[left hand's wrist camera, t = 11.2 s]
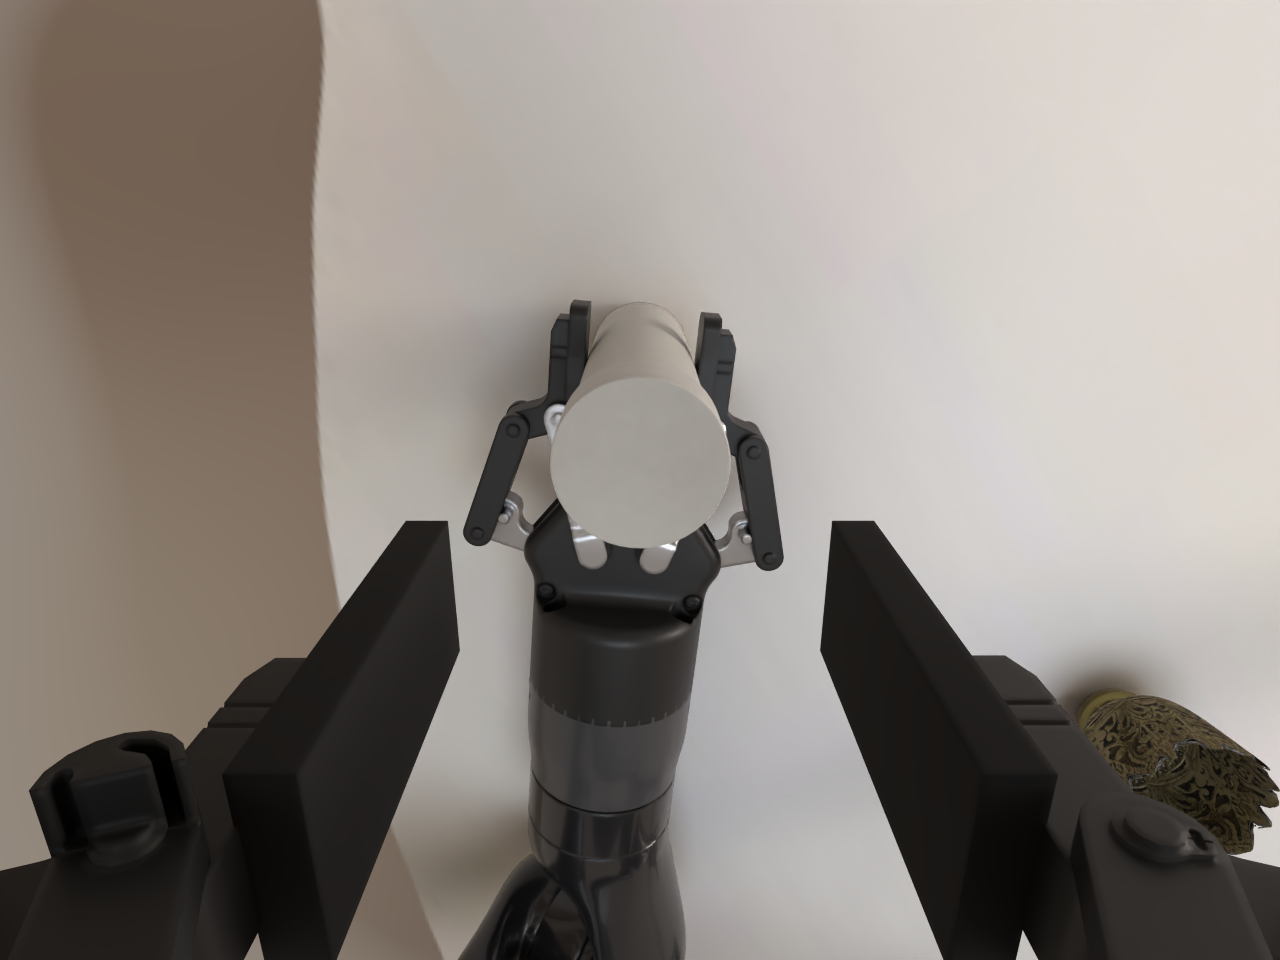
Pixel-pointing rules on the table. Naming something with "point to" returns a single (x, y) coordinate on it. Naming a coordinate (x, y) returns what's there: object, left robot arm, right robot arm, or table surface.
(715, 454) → the lid
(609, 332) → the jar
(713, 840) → the table surface
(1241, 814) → the cup
